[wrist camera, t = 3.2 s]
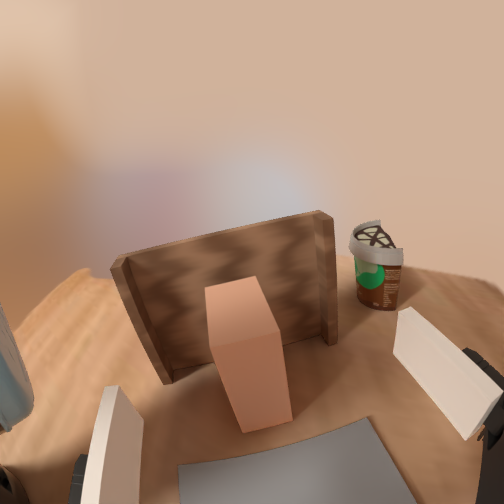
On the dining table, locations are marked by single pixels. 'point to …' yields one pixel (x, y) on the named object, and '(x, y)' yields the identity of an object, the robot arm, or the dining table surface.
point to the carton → (248, 353)
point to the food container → (376, 266)
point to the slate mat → (302, 473)
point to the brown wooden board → (226, 270)
